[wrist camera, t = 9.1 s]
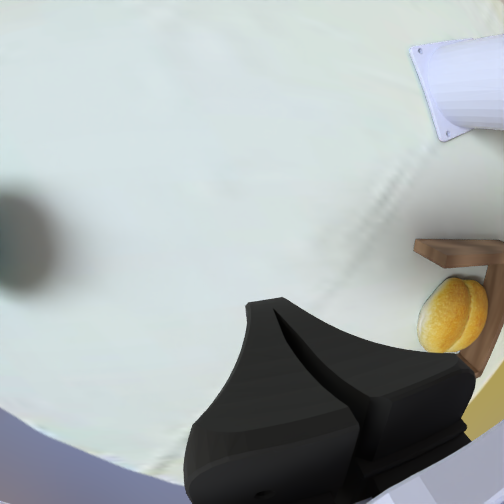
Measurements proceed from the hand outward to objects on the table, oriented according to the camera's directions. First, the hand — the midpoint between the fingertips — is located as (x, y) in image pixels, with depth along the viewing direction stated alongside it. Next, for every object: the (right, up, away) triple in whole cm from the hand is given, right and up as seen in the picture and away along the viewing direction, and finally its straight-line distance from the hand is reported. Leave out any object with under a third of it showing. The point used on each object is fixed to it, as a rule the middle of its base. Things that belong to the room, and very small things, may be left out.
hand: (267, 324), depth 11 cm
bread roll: (+19, -3, +17) cm, 26 cm away
